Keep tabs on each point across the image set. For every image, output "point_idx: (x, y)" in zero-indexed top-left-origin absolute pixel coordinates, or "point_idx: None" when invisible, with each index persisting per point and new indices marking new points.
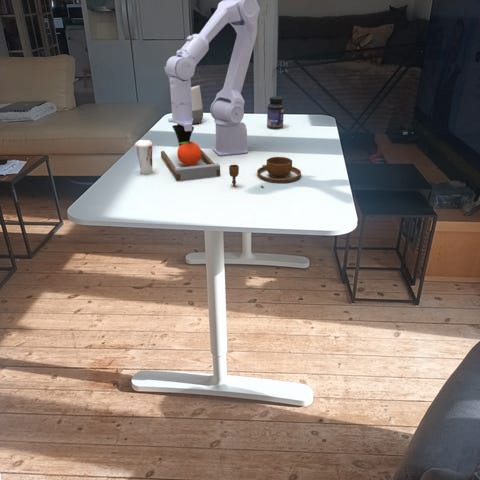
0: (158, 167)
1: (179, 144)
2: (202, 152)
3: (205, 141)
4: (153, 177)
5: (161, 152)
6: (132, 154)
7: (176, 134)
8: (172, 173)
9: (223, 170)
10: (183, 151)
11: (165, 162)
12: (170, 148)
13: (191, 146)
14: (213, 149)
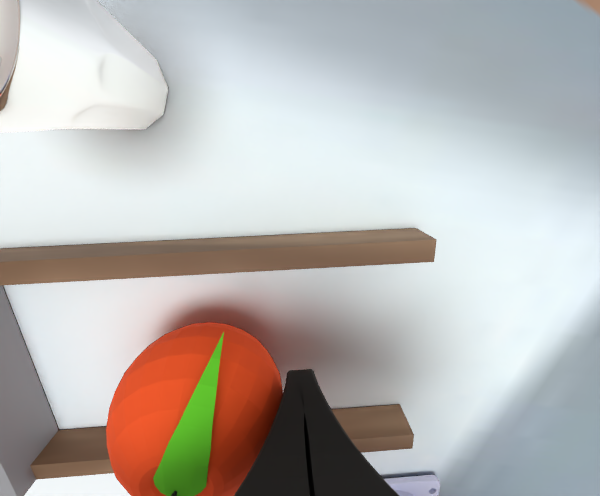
0: (224, 183)
1: (289, 399)
2: None
3: (576, 464)
4: None
5: (406, 240)
6: (579, 37)
7: (325, 467)
8: (62, 247)
9: None
10: (121, 397)
11: (276, 237)
12: (563, 302)
13: (120, 480)
14: (412, 481)
